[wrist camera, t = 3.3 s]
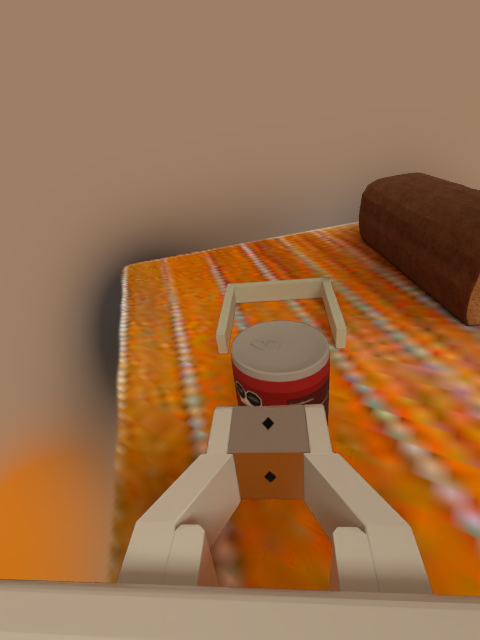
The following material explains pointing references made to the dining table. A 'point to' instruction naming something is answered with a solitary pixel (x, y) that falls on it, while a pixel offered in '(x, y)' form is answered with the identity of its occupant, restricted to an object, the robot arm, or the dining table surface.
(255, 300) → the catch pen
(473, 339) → the dining table surface
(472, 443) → the dining table surface
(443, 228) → the bread
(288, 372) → the canned food
